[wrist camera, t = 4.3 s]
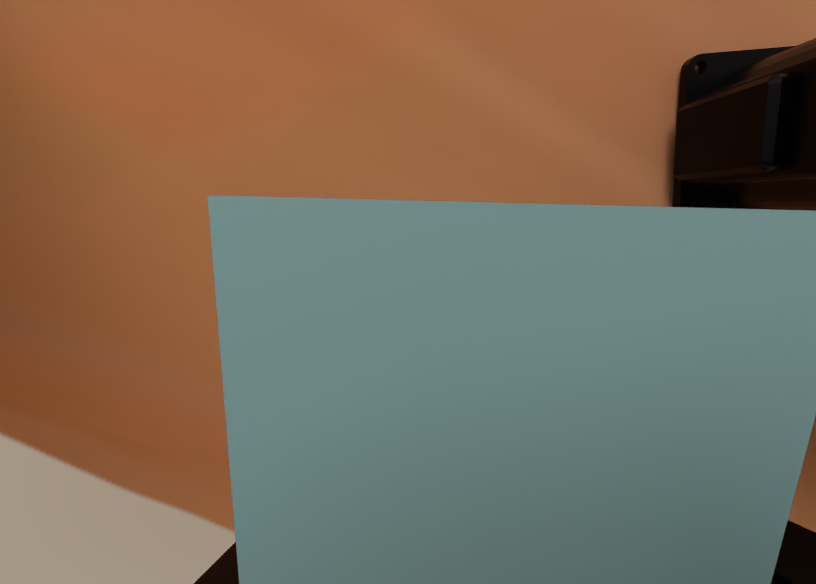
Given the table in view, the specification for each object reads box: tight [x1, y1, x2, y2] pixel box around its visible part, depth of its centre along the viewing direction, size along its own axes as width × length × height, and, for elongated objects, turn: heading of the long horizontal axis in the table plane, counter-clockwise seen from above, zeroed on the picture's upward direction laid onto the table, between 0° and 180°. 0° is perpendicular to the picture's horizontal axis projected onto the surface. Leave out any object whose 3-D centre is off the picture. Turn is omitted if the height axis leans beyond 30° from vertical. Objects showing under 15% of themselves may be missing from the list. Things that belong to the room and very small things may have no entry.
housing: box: [208, 195, 816, 584], centre depth 6 cm, size 5×10×4 cm, turn 179°
